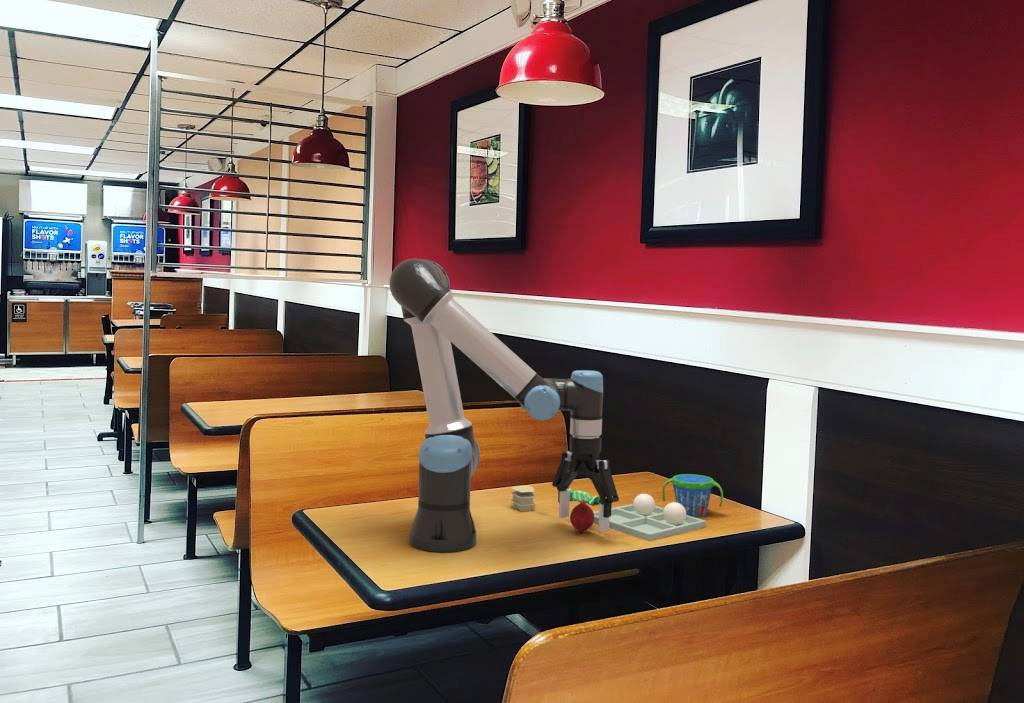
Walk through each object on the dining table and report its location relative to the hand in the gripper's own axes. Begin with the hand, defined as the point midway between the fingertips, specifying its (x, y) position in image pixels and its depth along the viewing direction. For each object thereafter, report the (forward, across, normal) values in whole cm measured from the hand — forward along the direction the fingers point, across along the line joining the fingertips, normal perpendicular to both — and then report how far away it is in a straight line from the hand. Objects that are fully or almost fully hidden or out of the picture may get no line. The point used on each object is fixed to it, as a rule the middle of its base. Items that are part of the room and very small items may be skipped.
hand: (583, 523), depth 201 cm
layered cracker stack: (+3, +25, -2) cm, 25 cm away
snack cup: (+3, -5, -35) cm, 35 cm away
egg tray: (+2, -5, -17) cm, 18 cm away
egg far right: (+2, -10, -22) cm, 24 cm away
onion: (+2, 0, 0) cm, 3 cm away
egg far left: (+2, 0, -22) cm, 22 cm away
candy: (+3, +20, -19) cm, 28 cm away
